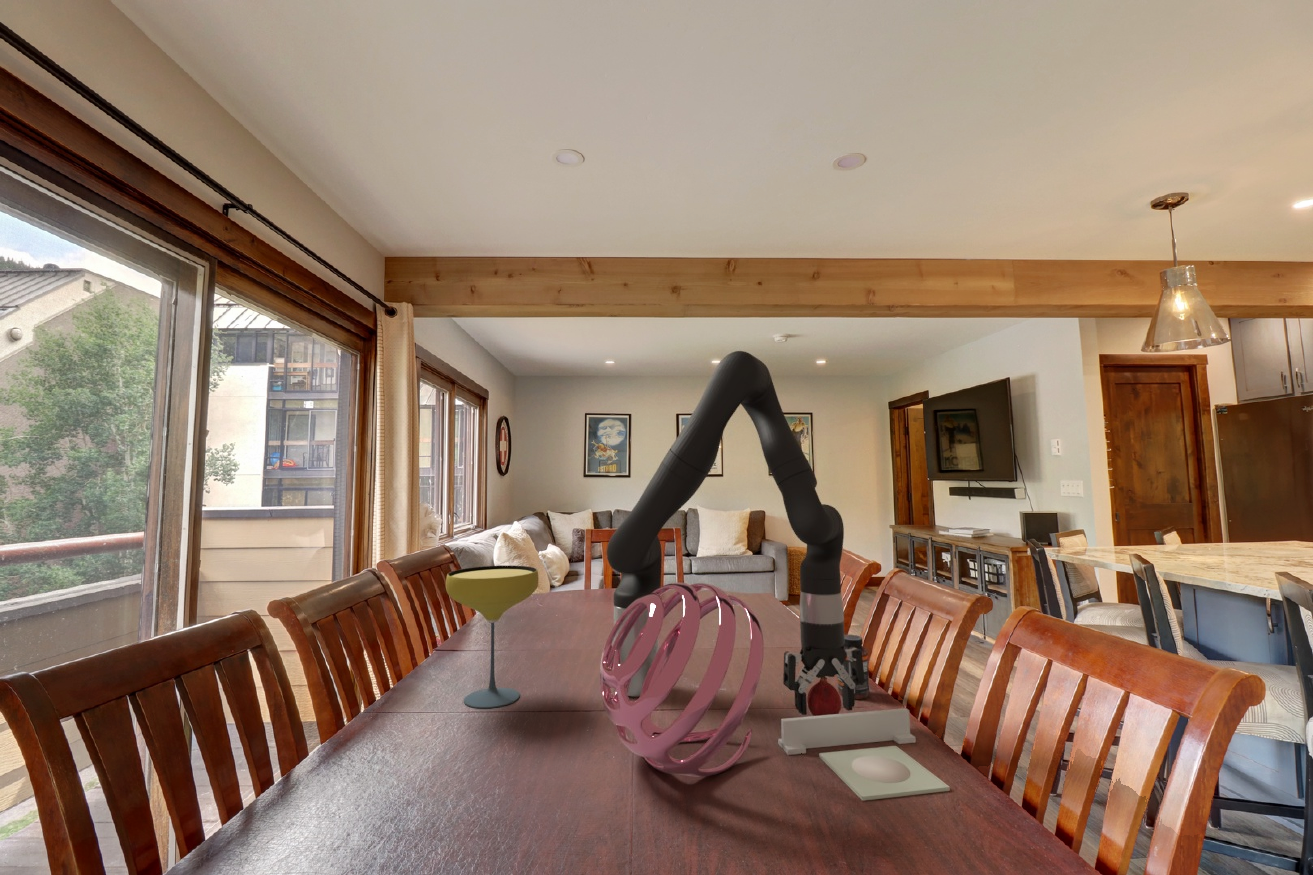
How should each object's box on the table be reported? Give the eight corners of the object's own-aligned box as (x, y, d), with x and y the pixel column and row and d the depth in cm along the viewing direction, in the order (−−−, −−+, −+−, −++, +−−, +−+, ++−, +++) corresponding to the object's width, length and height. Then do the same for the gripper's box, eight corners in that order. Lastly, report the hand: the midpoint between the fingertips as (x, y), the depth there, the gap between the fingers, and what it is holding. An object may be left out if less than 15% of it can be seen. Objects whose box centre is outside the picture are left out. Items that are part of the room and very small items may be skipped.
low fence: (787, 754, 93) (787, 725, 93) (778, 743, 97) (777, 715, 97) (915, 742, 96) (914, 713, 97) (901, 732, 100) (900, 704, 101)
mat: (862, 800, 79) (862, 796, 79) (819, 756, 92) (819, 752, 92) (949, 790, 81) (949, 786, 82) (895, 748, 94) (895, 745, 94)
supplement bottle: (833, 690, 121) (831, 633, 122) (861, 688, 121) (859, 632, 122) (845, 700, 115) (843, 641, 116) (874, 699, 116) (872, 640, 116)
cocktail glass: (544, 707, 113) (545, 575, 115) (444, 722, 107) (446, 581, 109) (531, 678, 130) (531, 563, 132) (443, 689, 124) (445, 568, 126)
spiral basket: (771, 605, 110) (657, 528, 103) (850, 694, 83) (703, 597, 76) (681, 726, 110) (560, 657, 103) (730, 853, 83) (572, 772, 76)
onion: (843, 731, 101) (841, 683, 102) (808, 729, 102) (807, 681, 103) (840, 718, 107) (838, 672, 107) (807, 716, 108) (805, 670, 108)
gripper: (848, 610, 111) (851, 700, 109) (775, 614, 108) (778, 706, 107) (869, 619, 103) (873, 715, 102) (792, 624, 101) (795, 723, 100)
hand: (825, 711), depth 105 cm, fingers open, 8 cm apart
